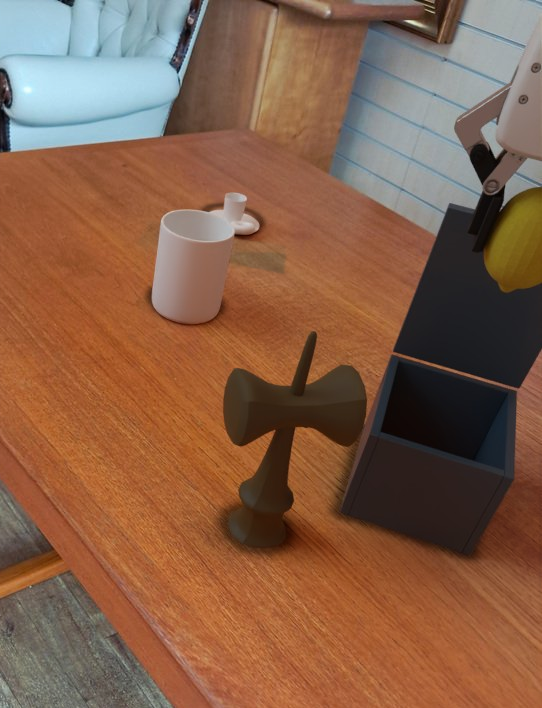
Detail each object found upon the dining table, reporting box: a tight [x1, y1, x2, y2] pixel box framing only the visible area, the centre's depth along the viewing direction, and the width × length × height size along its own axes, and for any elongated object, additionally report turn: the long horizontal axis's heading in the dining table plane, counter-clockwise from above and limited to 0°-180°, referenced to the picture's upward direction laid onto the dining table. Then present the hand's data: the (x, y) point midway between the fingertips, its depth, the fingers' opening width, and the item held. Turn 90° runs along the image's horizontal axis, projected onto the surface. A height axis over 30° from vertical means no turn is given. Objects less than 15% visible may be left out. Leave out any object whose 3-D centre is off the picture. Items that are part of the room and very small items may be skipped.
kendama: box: [222, 330, 368, 549], centre depth 61 cm, size 6×10×20 cm, turn 101°
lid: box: [392, 202, 542, 389], centre depth 68 cm, size 14×12×5 cm
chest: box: [339, 353, 518, 557], centre depth 71 cm, size 14×12×10 cm
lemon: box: [484, 186, 542, 293], centre depth 56 cm, size 6×6×8 cm
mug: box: [151, 208, 236, 325], centre depth 92 cm, size 12×8×10 cm
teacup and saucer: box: [209, 192, 260, 236], centre depth 112 cm, size 9×8×4 cm
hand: (521, 254), depth 57 cm, fingers closed on lemon, 5 cm apart
